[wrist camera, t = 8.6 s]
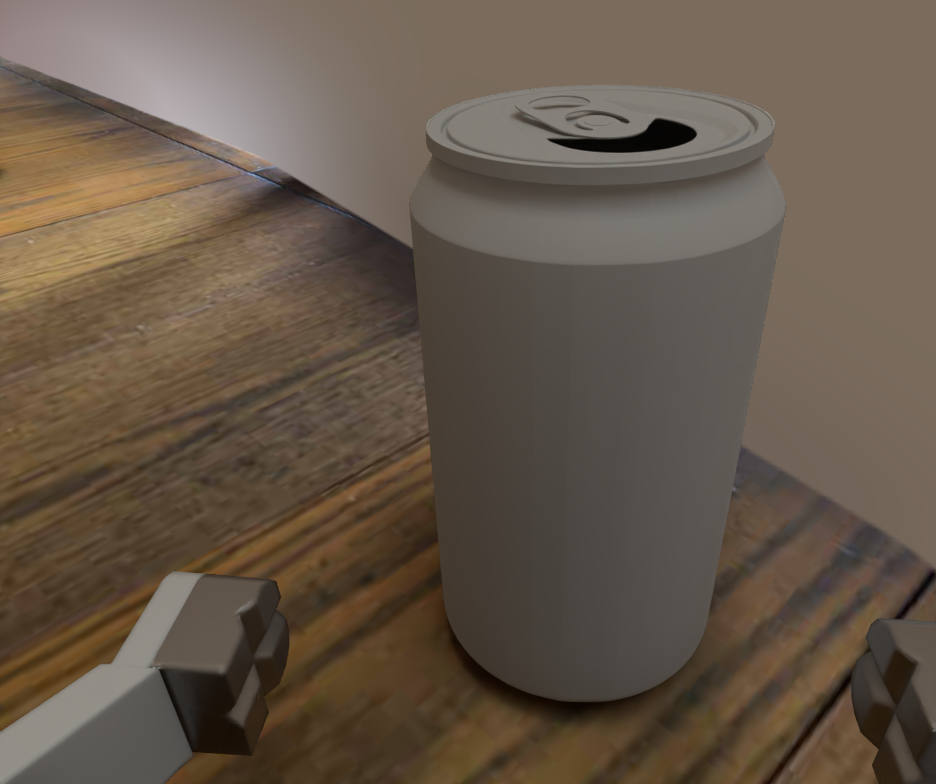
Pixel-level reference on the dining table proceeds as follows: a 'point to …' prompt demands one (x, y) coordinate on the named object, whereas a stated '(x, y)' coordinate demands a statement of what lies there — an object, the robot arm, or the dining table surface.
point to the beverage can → (589, 369)
